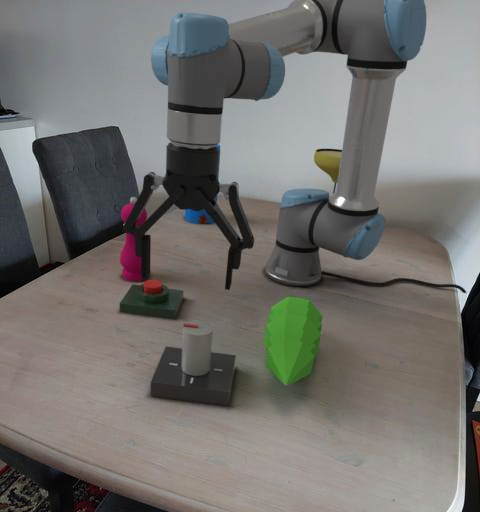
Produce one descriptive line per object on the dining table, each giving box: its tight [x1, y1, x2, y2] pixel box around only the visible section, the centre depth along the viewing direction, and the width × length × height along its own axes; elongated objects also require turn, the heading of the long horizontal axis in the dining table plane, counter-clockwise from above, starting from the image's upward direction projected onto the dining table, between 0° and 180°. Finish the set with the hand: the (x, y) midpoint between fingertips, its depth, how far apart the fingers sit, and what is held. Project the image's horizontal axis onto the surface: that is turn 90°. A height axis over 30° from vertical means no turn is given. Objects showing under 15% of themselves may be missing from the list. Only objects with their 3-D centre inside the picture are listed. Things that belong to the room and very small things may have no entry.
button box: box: [119, 283, 185, 320], centre depth 104 cm, size 12×10×4 cm
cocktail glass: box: [313, 148, 342, 194], centre depth 168 cm, size 18×18×25 cm
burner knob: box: [181, 319, 214, 376], centre depth 79 cm, size 5×5×8 cm
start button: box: [143, 279, 163, 294], centre depth 103 cm, size 4×4×2 cm
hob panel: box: [150, 346, 237, 407], centre depth 82 cm, size 13×11×3 cm
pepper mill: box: [119, 196, 148, 282], centre depth 113 cm, size 7×7×20 cm
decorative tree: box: [262, 295, 323, 386], centre depth 87 cm, size 11×12×30 cm
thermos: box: [184, 143, 221, 225], centre depth 158 cm, size 11×11×25 cm
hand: (186, 281), depth 76 cm, fingers open, 13 cm apart
